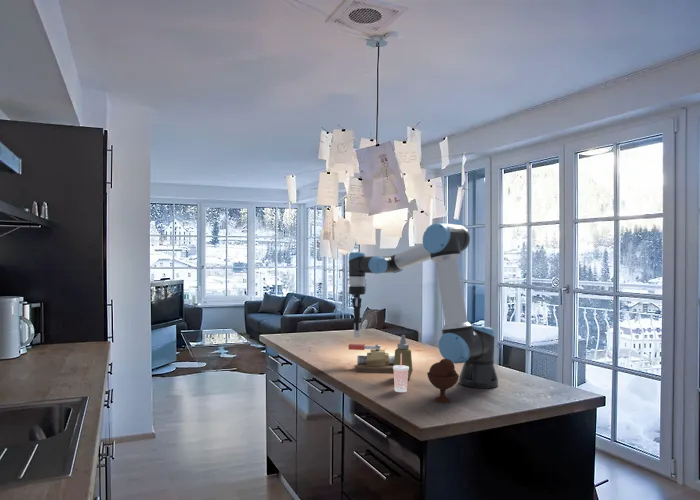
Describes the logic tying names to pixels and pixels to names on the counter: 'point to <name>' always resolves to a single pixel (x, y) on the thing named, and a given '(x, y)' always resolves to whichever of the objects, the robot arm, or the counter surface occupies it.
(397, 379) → the beverage cup
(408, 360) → the squeeze bottle
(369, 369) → the valve board
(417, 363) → the counter surface
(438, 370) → the ice cream bowl
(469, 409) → the counter surface
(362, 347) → the lever
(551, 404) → the counter surface
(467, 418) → the counter surface
